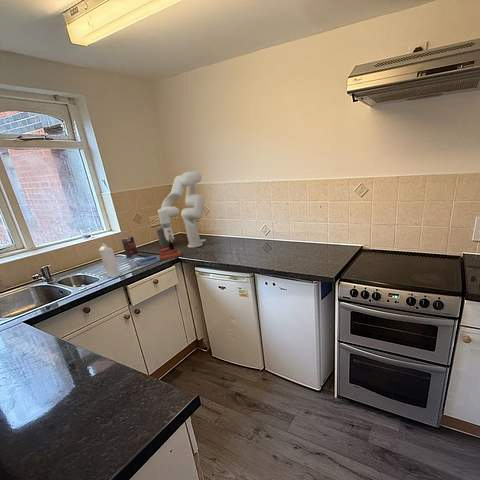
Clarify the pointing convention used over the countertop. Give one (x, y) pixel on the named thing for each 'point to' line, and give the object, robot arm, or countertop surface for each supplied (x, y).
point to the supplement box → (130, 247)
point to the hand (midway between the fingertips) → (171, 249)
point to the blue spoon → (148, 259)
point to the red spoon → (166, 249)
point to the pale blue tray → (148, 261)
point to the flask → (162, 238)
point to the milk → (109, 261)
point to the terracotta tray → (169, 255)
